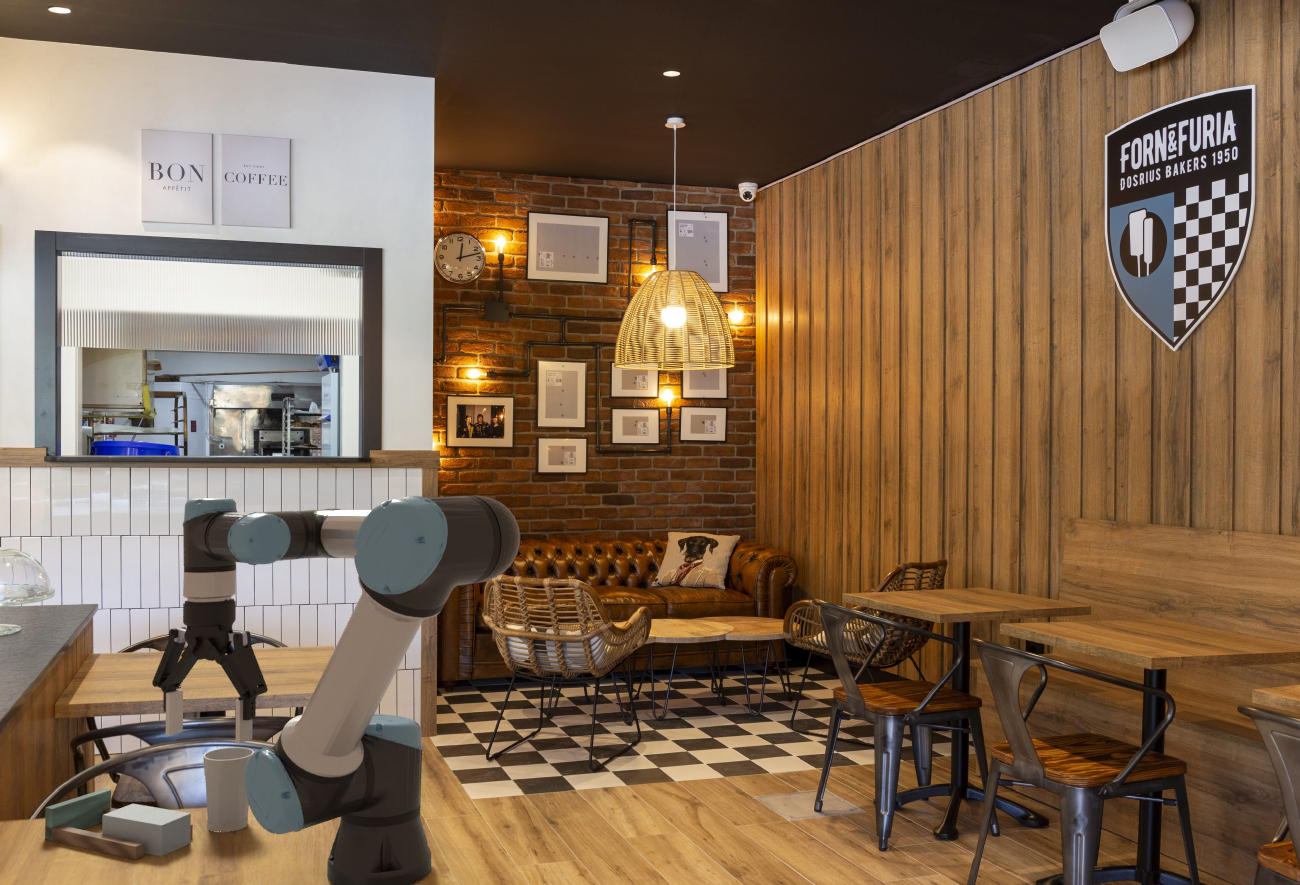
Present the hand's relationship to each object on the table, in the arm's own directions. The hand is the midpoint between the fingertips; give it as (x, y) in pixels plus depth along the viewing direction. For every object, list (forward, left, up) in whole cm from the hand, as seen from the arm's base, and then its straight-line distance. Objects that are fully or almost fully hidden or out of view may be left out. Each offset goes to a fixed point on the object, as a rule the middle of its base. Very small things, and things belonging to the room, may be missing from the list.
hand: (208, 737), depth 167 cm
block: (+13, -1, -19) cm, 23 cm away
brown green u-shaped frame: (+19, -1, -19) cm, 27 cm away
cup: (+8, -13, -19) cm, 24 cm away
